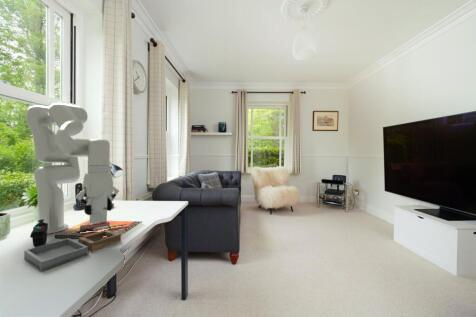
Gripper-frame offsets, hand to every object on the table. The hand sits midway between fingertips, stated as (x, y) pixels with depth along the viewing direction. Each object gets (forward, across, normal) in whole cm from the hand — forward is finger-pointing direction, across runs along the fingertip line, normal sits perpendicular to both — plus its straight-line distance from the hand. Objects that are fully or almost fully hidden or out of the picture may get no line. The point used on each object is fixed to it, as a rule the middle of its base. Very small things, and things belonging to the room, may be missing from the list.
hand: (98, 211), depth 88 cm
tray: (+13, +14, 0) cm, 19 cm away
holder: (+13, 0, +1) cm, 13 cm away
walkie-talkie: (+14, -10, -16) cm, 23 cm away
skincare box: (+4, 0, 0) cm, 4 cm away
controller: (+14, +14, -16) cm, 25 cm away
